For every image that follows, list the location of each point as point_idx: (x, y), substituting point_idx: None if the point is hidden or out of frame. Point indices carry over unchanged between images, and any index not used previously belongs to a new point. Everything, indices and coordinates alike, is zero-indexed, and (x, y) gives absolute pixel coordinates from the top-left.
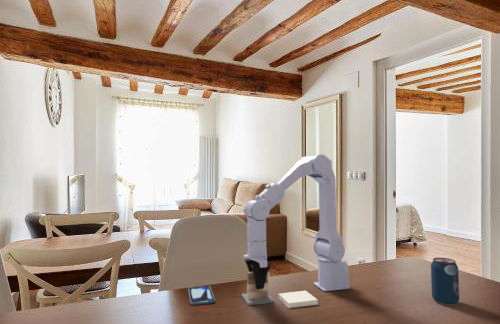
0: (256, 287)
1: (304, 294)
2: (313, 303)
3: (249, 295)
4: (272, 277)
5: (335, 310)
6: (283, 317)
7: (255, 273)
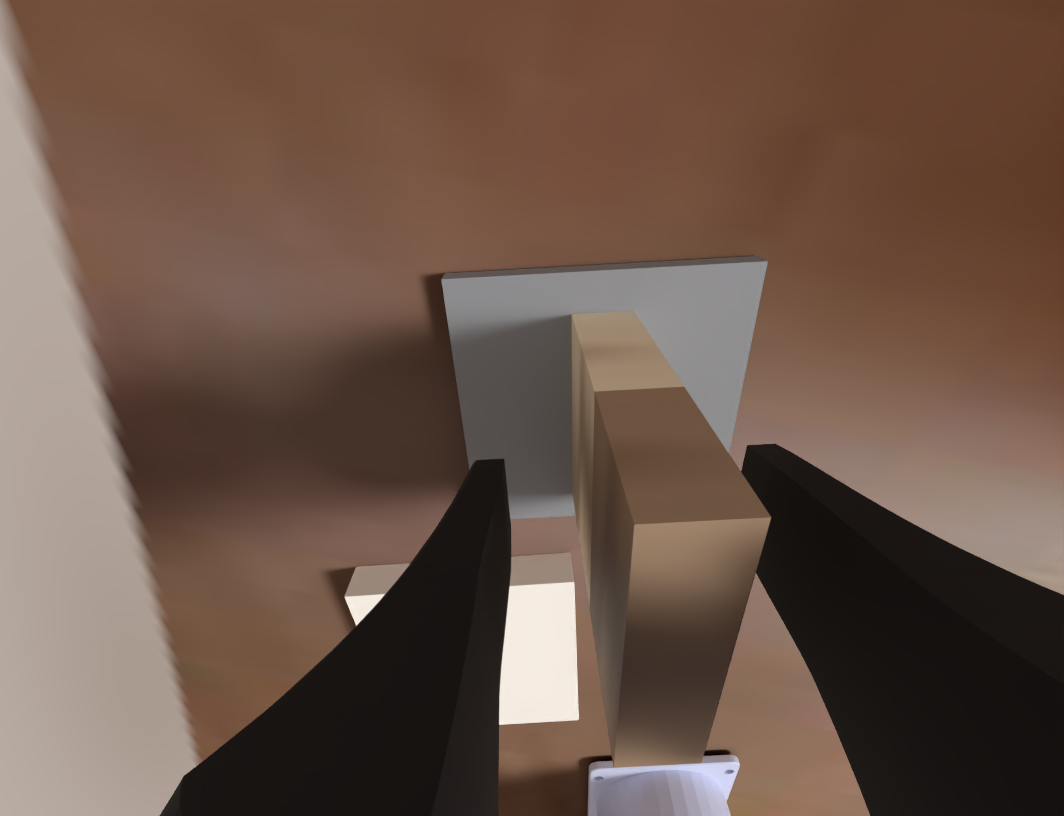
0: (470, 470)
1: (505, 701)
2: None
3: (576, 339)
4: None
5: None
6: (167, 502)
7: (316, 676)
